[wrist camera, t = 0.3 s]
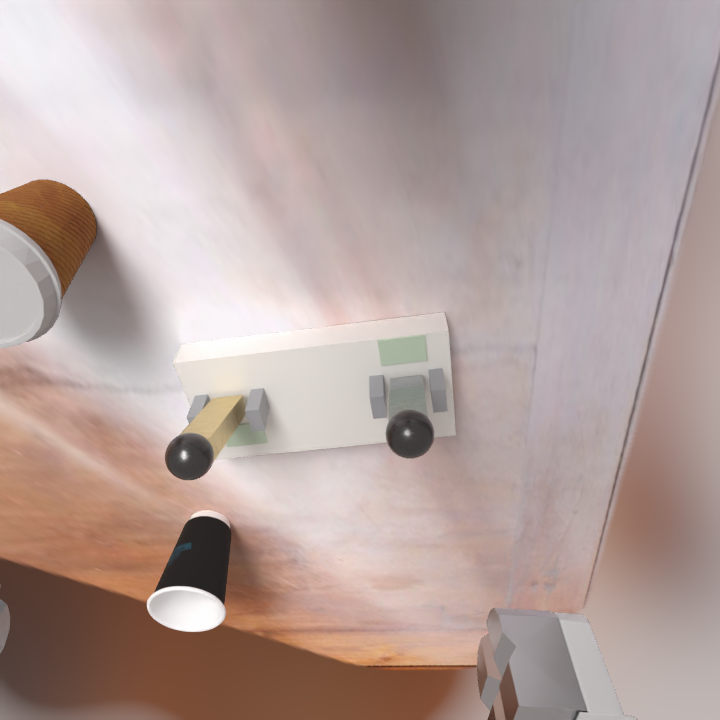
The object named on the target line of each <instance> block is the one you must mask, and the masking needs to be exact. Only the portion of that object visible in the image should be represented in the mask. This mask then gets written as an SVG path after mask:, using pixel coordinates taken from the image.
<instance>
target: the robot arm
mask: <svg viewBox="0 0 720 720" xmlns="http://www.w3.org/2000/svg"><path fill="white" fill-rule="evenodd" d="M0 587H1V585H0ZM487 626H488V632H489V634H487V635H486V636H484V637H483V638H481V642H480V646H479V650H478V659H477V676H478V686H479V693H480V699H481V700H482V701H483V702H484V704H485V705H486V706H487V707H488V709H489V710H490V714H489V717H488V720H637V719H636V718H635V717H634V716H629V715H624V713H623V710H622V708H621V705H620V702H619V700H618V697H617V694H616V692H615V689H614V686H613V684H612V681H611V679H610V676H609V673H608V670H607V668H606V665H605V662H604V660H603V657H602V655H601V652H600V649H599V647H598V644H597V641H596V639H595V636H594V633H593V631H592V628H591V625H590V623H589V620H588V619H587V618H586V617H585V616H584V615H582V614H574V613H557V612H550V611H540V610H522V609H505V608H493V609H492V610H491V611H490V613H489V616H488V619H487ZM9 629H10V613H9V610H8V607H7V604H5V603H4V602H3V601H2V600H0V653H1V651H2V649H3V648H4V645H5V641H6V638H7V635H8V632H9Z"/></svg>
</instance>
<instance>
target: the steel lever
mask: <svg viewBox="0 0 720 720" xmlns="http://www.w3.org/2000/svg"><path fill="white" fill-rule="evenodd" d="M385 434H386V441H387V443H388V445H389V447H390V449H391V450H392V451H393V452H394V453H395V454H397V455H398V456H401V457H403V458H417V457H420V456H422V455H424V454H425V453H426V452H427V451H428V450H429V449H430V447H431V446H432V443H433V440H434V428H433V425H432V423H431V421H430V420H429V418H428V413H427V406H426V399H425V392H424V385H423V378H422V375H415V376H407V377H398V378H390V390H389V420H388V424H387V427H386V433H385Z"/></svg>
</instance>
